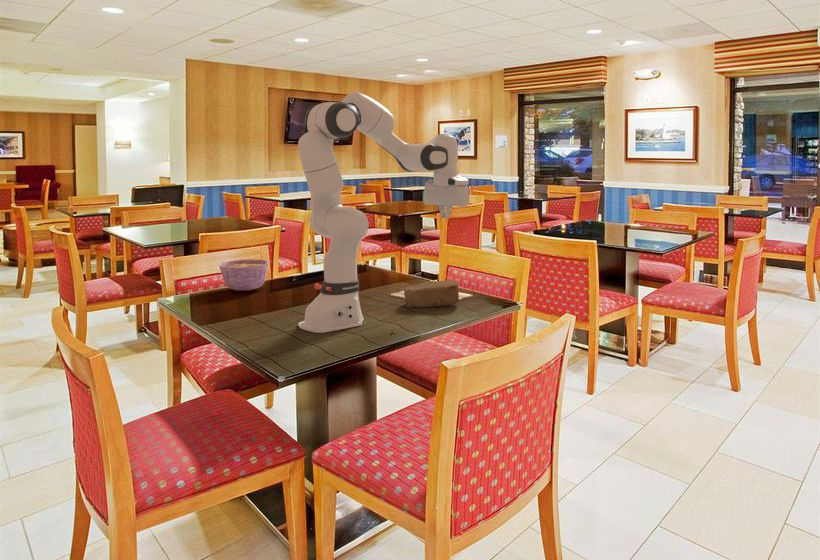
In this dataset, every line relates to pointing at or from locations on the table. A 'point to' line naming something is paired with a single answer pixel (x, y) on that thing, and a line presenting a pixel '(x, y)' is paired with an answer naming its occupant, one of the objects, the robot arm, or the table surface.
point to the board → (401, 295)
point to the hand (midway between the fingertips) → (445, 218)
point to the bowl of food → (244, 273)
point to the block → (432, 294)
